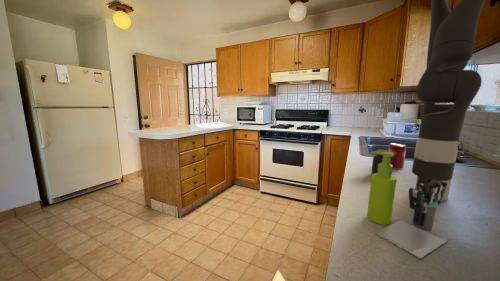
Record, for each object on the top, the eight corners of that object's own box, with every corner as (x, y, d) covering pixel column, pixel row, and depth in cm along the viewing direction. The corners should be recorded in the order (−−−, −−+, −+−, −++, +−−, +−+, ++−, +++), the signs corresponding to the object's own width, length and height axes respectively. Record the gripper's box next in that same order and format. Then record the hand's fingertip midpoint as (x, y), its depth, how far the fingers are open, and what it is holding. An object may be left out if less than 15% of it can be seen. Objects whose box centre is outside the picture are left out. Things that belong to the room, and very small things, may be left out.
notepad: (402, 221, 60) (403, 219, 60) (447, 241, 52) (448, 239, 51) (375, 234, 54) (375, 231, 54) (420, 259, 46) (421, 257, 45)
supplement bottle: (391, 177, 95) (395, 151, 93) (381, 179, 92) (384, 152, 90) (377, 172, 101) (380, 148, 99) (367, 174, 99) (370, 149, 96)
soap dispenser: (365, 210, 66) (372, 148, 62) (391, 218, 62) (401, 152, 58) (361, 218, 61) (368, 152, 58) (389, 227, 57) (399, 156, 53)
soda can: (389, 168, 107) (392, 145, 105) (384, 164, 114) (387, 142, 112) (405, 169, 105) (409, 146, 103) (400, 165, 112) (403, 143, 110)
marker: (417, 220, 56) (421, 196, 55) (435, 228, 53) (440, 202, 52) (409, 224, 54) (413, 199, 53) (427, 232, 51) (432, 206, 50)
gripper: (429, 151, 57) (419, 209, 60) (400, 156, 50) (391, 222, 54) (467, 157, 50) (453, 222, 54) (439, 165, 44) (426, 238, 47)
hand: (422, 222), depth 53 cm, fingers closed on marker, 3 cm apart
